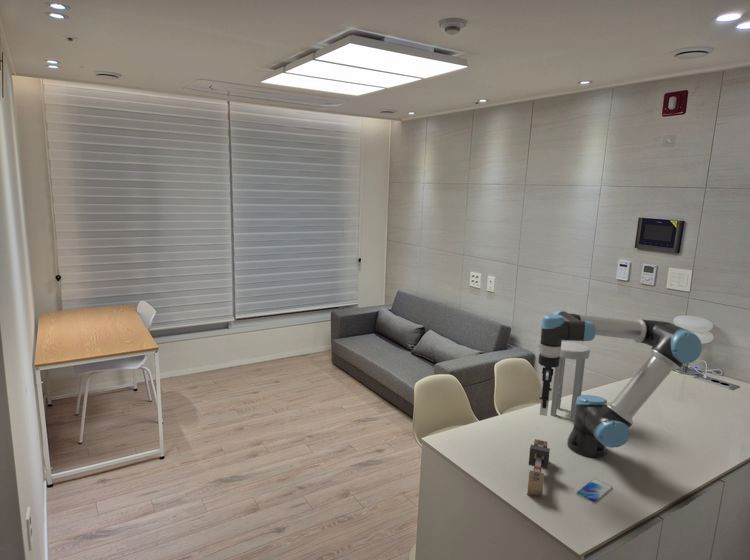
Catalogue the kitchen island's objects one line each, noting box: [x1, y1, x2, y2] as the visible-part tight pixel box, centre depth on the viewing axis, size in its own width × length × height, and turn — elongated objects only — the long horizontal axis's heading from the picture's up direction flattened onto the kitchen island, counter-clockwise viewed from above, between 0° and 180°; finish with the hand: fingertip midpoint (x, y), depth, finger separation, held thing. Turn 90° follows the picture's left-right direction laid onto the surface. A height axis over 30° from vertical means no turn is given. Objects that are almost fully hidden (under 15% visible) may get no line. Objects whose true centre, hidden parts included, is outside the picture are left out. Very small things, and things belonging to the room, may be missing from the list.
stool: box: [549, 341, 591, 422], centre depth 233 cm, size 16×16×35 cm
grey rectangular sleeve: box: [528, 444, 551, 470], centre depth 183 cm, size 7×3×7 cm, turn 68°
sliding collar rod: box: [526, 439, 549, 499], centre depth 182 cm, size 5×28×8 cm, turn 158°
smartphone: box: [575, 478, 613, 505], centre depth 175 cm, size 7×1×15 cm
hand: (543, 410), depth 186 cm, fingers open, 8 cm apart
